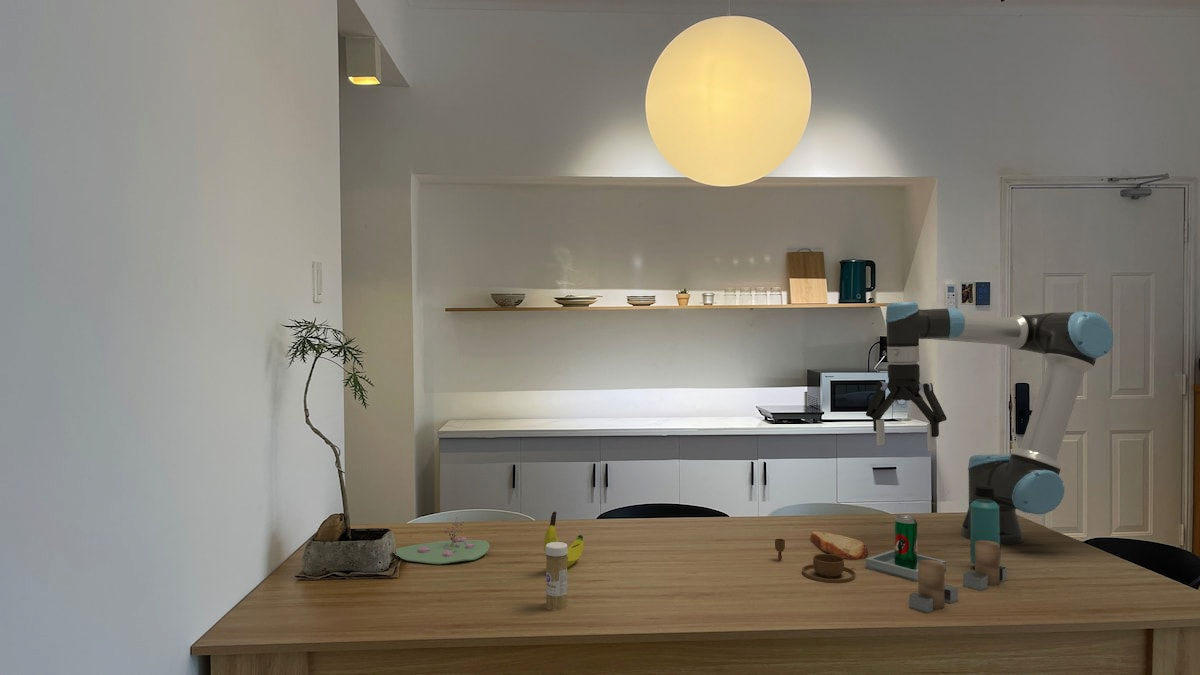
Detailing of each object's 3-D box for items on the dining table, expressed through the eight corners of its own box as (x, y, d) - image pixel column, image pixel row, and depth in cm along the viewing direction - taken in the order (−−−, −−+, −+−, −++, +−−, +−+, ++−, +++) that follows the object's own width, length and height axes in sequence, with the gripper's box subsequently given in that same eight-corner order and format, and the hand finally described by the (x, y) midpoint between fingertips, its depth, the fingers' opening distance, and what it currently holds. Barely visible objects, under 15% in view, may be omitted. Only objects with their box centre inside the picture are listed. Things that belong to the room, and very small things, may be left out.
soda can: (919, 570, 182) (919, 519, 181) (896, 569, 182) (896, 518, 182) (914, 564, 186) (915, 514, 186) (892, 563, 187) (892, 513, 187)
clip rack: (989, 576, 180) (989, 563, 180) (1006, 580, 177) (1006, 567, 177) (909, 609, 159) (909, 594, 159) (927, 614, 156) (927, 599, 156)
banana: (589, 560, 194) (589, 500, 194) (557, 580, 178) (556, 515, 178) (573, 558, 196) (573, 498, 195) (539, 578, 180) (539, 513, 180)
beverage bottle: (1004, 575, 181) (1004, 489, 180) (973, 573, 182) (973, 488, 182) (995, 566, 187) (996, 484, 187) (966, 565, 188) (966, 483, 188)
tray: (895, 559, 194) (895, 549, 194) (945, 571, 183) (945, 561, 183) (865, 568, 186) (865, 558, 186) (916, 582, 175) (916, 571, 175)
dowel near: (926, 600, 164) (926, 558, 164) (949, 607, 160) (949, 563, 160) (913, 605, 161) (913, 562, 161) (936, 612, 157) (936, 568, 157)
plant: (390, 568, 189) (390, 531, 189) (392, 545, 209) (392, 512, 209) (493, 560, 195) (493, 525, 195) (485, 539, 215) (485, 507, 215)
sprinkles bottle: (541, 609, 160) (540, 544, 159) (556, 603, 163) (556, 539, 163) (557, 614, 157) (556, 548, 156) (572, 608, 160) (572, 543, 160)
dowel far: (981, 577, 179) (981, 539, 179) (1003, 583, 175) (1003, 543, 175) (970, 582, 176) (970, 542, 176) (992, 588, 172) (993, 547, 172)
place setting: (801, 588, 174) (802, 562, 173) (770, 562, 193) (770, 538, 193) (875, 585, 176) (875, 559, 176) (836, 559, 196) (836, 536, 196)
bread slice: (813, 537, 216) (813, 523, 216) (880, 547, 206) (880, 533, 206) (790, 552, 201) (790, 538, 201) (860, 564, 191) (860, 549, 191)
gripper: (850, 363, 202) (853, 444, 202) (944, 364, 183) (947, 454, 183) (866, 361, 207) (868, 440, 207) (959, 363, 188) (962, 450, 188)
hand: (905, 447), depth 195 cm, fingers open, 13 cm apart
